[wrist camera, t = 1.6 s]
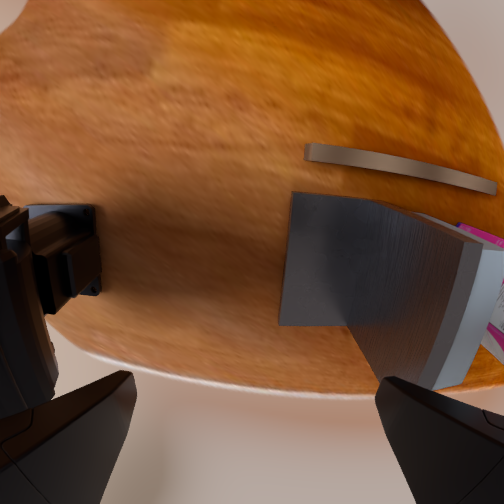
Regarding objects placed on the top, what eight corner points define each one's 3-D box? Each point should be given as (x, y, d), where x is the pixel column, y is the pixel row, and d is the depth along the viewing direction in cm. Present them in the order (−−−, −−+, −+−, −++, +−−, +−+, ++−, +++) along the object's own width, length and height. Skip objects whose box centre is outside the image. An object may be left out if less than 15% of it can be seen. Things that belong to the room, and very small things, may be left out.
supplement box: (484, 263, 21) (575, 322, 10) (442, 312, 22) (523, 393, 11) (459, 217, 20) (572, 268, 9) (412, 272, 21) (512, 356, 10)
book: (375, 314, 22) (431, 390, 13) (396, 209, 19) (482, 249, 11) (400, 313, 22) (461, 383, 13) (423, 213, 19) (510, 252, 11)
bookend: (277, 321, 21) (302, 431, 12) (291, 191, 18) (346, 231, 9) (359, 321, 22) (418, 415, 12) (382, 200, 19) (483, 243, 9)
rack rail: (303, 159, 18) (311, 160, 16) (305, 144, 18) (312, 142, 16) (479, 191, 19) (495, 195, 17) (481, 179, 19) (497, 182, 17)
